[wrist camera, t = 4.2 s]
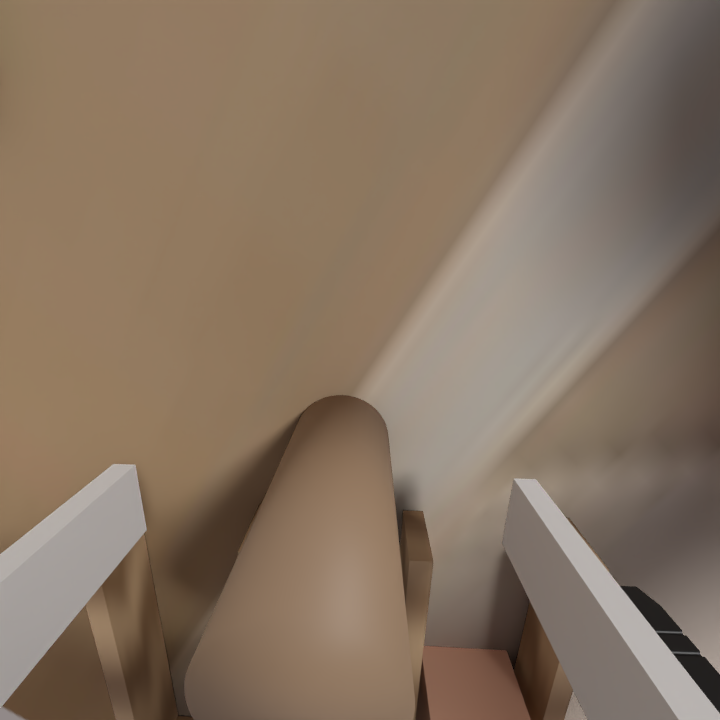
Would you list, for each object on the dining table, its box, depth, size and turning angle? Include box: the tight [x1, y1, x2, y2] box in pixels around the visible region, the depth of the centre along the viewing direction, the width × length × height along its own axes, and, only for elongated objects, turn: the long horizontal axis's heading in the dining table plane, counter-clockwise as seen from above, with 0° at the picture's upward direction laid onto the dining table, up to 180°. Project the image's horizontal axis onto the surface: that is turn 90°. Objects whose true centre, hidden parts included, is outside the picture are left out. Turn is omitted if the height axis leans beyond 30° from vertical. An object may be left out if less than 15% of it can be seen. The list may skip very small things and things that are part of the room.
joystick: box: [184, 395, 415, 720], centre depth 14 cm, size 21×5×10 cm, turn 178°
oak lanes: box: [86, 504, 609, 720], centre depth 18 cm, size 18×23×3 cm
